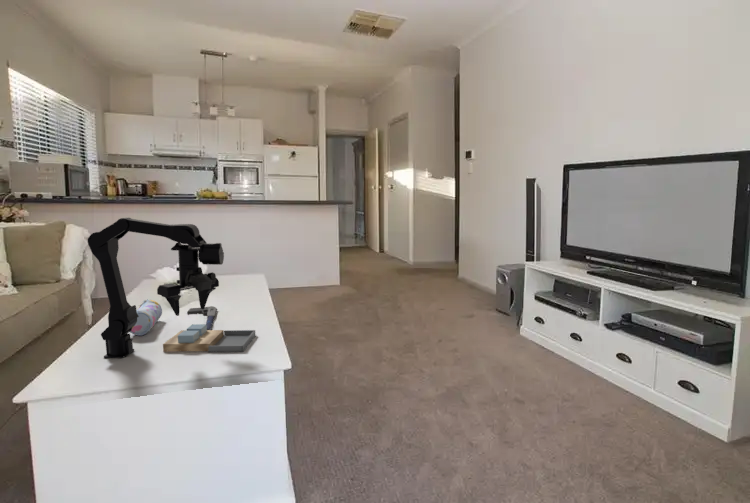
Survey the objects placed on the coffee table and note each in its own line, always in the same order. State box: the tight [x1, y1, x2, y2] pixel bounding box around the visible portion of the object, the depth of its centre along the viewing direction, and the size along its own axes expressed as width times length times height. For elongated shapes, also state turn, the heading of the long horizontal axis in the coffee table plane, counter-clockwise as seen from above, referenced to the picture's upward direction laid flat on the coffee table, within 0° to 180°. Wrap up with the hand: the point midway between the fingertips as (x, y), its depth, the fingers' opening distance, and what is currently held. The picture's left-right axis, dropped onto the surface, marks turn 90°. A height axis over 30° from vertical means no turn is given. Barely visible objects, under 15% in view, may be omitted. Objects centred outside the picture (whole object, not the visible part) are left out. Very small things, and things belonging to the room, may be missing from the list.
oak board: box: [162, 329, 225, 353], centre depth 148 cm, size 15×14×2 cm
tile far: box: [186, 323, 207, 336], centre depth 151 cm, size 5×5×2 cm
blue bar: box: [186, 305, 218, 330], centre depth 174 cm, size 34×2×12 cm
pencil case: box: [129, 299, 163, 337], centre depth 164 cm, size 21×9×10 cm, turn 16°
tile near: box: [178, 331, 199, 343], centre depth 144 cm, size 5×5×2 cm
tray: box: [207, 329, 256, 353], centre depth 148 cm, size 11×16×2 cm
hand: (190, 312), depth 139 cm, fingers open, 9 cm apart
